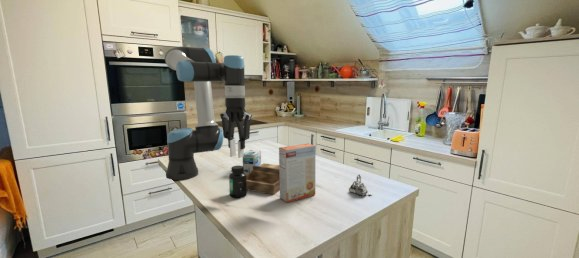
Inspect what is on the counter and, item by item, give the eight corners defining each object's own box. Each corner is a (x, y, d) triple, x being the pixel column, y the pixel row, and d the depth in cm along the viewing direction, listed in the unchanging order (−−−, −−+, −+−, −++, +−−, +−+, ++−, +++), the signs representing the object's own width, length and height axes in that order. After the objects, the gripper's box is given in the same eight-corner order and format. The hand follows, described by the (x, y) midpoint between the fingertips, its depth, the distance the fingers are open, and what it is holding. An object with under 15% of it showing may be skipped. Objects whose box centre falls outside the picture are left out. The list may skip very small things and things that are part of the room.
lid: (251, 171, 127) (250, 165, 127) (263, 164, 138) (263, 159, 138) (285, 176, 120) (285, 170, 120) (295, 169, 131) (295, 163, 130)
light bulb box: (255, 175, 134) (254, 154, 133) (242, 175, 136) (241, 154, 134) (261, 169, 145) (261, 150, 143) (249, 168, 146) (249, 149, 144)
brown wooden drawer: (237, 188, 118) (237, 179, 117) (252, 179, 129) (251, 171, 128) (274, 194, 111) (274, 185, 110) (286, 185, 121) (286, 176, 121)
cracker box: (307, 190, 115) (307, 142, 112) (315, 195, 110) (316, 145, 107) (278, 197, 107) (278, 146, 104) (286, 203, 102) (286, 149, 99)
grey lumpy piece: (377, 191, 115) (378, 173, 114) (366, 196, 109) (367, 178, 108) (358, 185, 121) (359, 169, 120) (348, 190, 115) (348, 173, 114)
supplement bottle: (230, 199, 106) (229, 170, 104) (229, 193, 112) (228, 165, 110) (247, 197, 108) (247, 168, 106) (245, 191, 114) (245, 164, 112)
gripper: (211, 97, 103) (214, 156, 107) (247, 97, 97) (249, 161, 100) (224, 96, 110) (226, 152, 114) (258, 97, 104) (259, 156, 107)
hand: (236, 156), depth 107 cm, fingers open, 3 cm apart
